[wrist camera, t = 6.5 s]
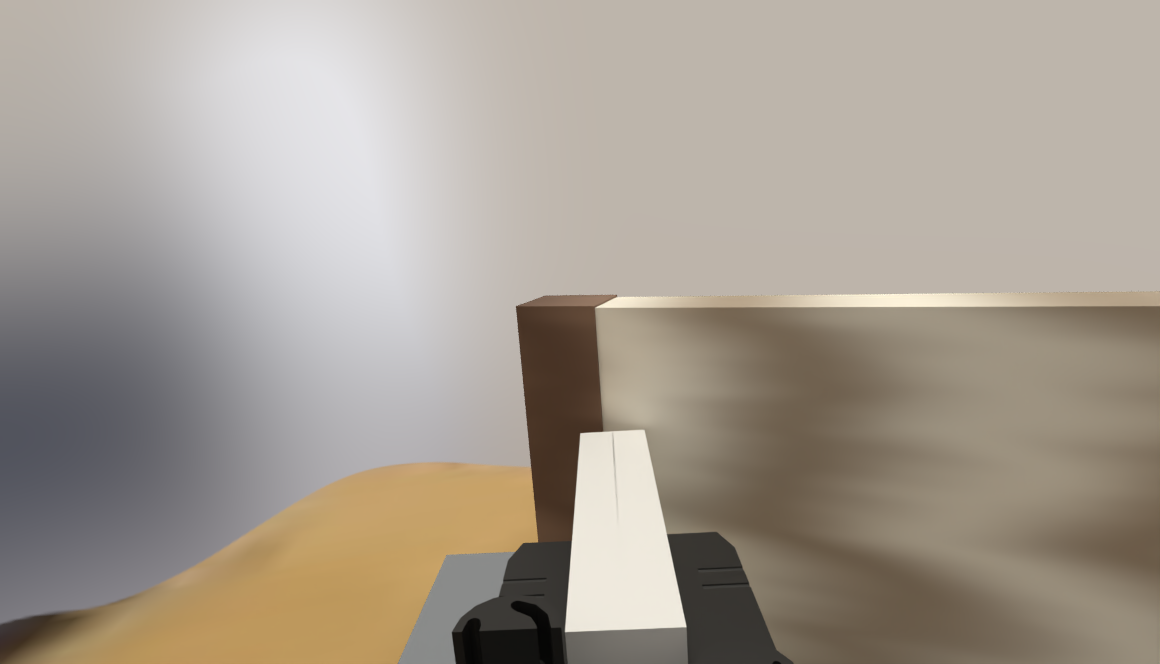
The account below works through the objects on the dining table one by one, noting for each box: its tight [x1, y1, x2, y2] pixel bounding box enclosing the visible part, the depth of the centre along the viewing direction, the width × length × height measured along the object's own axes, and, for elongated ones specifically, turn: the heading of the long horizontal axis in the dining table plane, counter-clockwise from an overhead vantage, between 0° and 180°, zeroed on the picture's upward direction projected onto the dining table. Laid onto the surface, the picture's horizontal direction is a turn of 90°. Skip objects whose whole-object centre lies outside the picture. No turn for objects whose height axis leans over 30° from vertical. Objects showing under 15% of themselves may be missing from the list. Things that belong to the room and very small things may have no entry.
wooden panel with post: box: [516, 291, 1160, 664], centre depth 12 cm, size 17×4×12 cm, turn 67°
